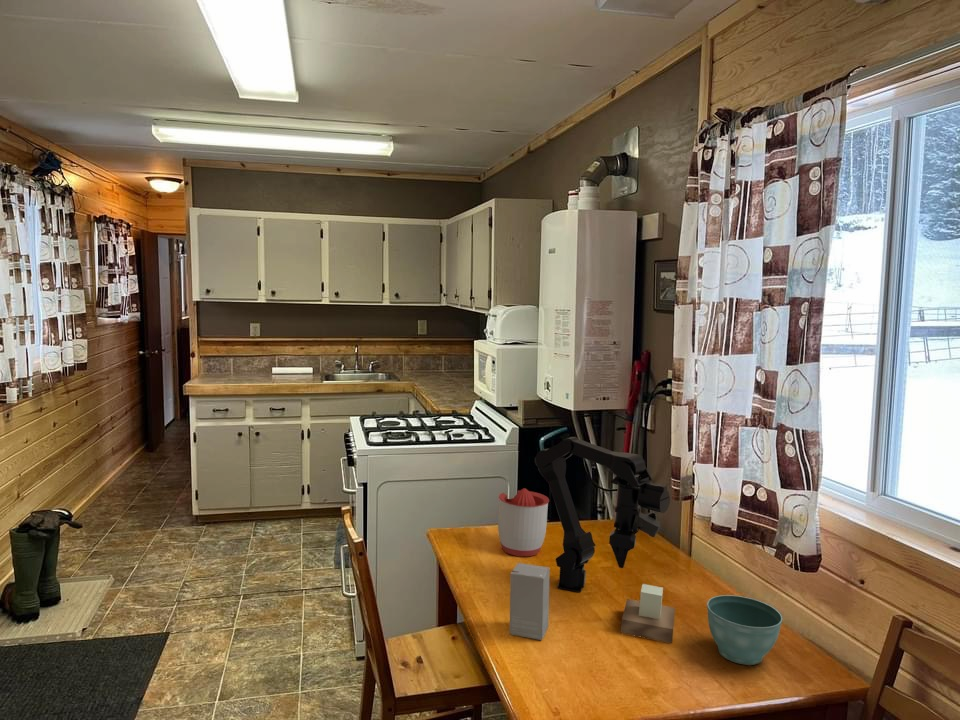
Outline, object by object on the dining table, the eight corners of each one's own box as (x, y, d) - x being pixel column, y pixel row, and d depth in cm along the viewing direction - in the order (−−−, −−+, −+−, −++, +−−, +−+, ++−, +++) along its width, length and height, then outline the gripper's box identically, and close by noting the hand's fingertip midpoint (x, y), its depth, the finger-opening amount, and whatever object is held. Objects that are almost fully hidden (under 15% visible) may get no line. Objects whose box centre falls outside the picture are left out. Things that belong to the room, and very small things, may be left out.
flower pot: (688, 645, 161) (692, 601, 160) (735, 631, 169) (739, 589, 168) (744, 681, 147) (749, 633, 146) (793, 664, 155) (798, 619, 154)
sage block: (638, 615, 167) (640, 591, 167) (640, 606, 172) (642, 583, 172) (659, 619, 166) (661, 595, 165) (661, 610, 171) (663, 587, 170)
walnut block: (620, 635, 165) (621, 619, 165) (625, 613, 177) (627, 598, 176) (671, 645, 162) (673, 629, 161) (673, 622, 173) (675, 607, 173)
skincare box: (548, 629, 165) (552, 566, 163) (541, 643, 158) (545, 577, 157) (514, 622, 168) (518, 559, 166) (506, 635, 161) (510, 570, 159)
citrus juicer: (522, 536, 226) (526, 477, 224) (555, 555, 212) (560, 492, 210) (483, 543, 218) (486, 482, 216) (514, 563, 204) (518, 498, 201)
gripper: (657, 518, 166) (652, 580, 168) (661, 497, 184) (656, 553, 185) (611, 512, 169) (606, 572, 171) (619, 491, 187) (615, 547, 189)
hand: (623, 561), depth 179 cm, fingers open, 9 cm apart
